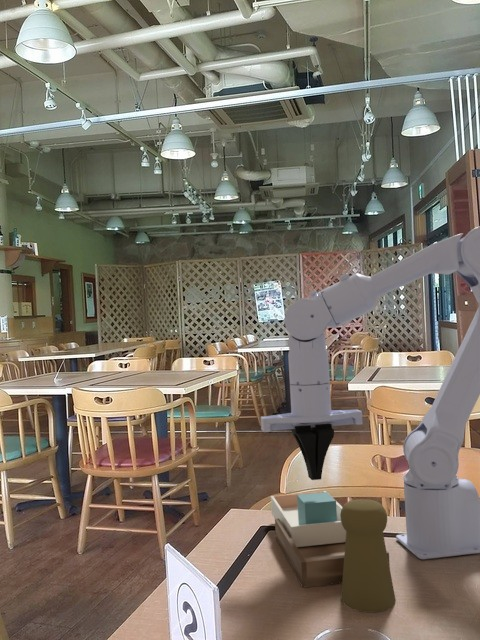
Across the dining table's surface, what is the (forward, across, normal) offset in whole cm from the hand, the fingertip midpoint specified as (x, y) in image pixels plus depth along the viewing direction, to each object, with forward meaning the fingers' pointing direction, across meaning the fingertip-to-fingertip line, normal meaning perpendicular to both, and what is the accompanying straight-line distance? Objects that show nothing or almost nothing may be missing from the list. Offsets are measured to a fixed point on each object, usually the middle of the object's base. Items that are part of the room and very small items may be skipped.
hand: (314, 478), depth 82 cm
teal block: (+7, 0, 0) cm, 7 cm away
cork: (+10, -1, +17) cm, 20 cm away
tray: (+8, 0, -4) cm, 9 cm away
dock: (+9, 0, +4) cm, 10 cm away
